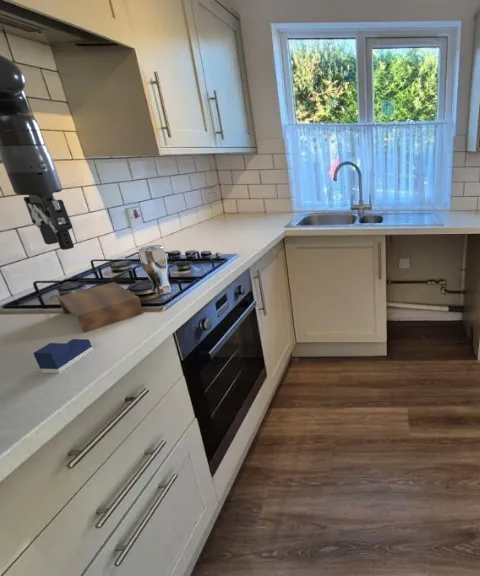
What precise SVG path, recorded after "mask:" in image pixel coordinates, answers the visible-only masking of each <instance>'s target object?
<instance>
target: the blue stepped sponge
mask: <svg viewBox="0 0 480 576" xmlns="http://www.w3.org/2000/svg"><path fill="white" fill-rule="evenodd" d="M92 351H94V348H93V346H92V344H91V340H90V338H72V339H70V340H69V341H68V342H49V343H47V344H45V346H42V347H41V348H39V349H37V350H36V351H34V352H33V353H32V354H33V355H34V358H35V360H36V362H37V365H38V367H39V369H40V371H41V373H42V374H61V373H62V372H63V371H64V370H66V369H68V368H69V367H71V366H72V365H73V364H75V363H76V362H78V361H79V360H81V359H83V358H84V357H85V356H87V355H88V354H90V353H91V352H92Z"/></svg>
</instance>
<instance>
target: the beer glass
mask: <svg viewBox="0 0 480 576" xmlns="http://www.w3.org/2000/svg"><path fill="white" fill-rule="evenodd" d="M137 251H138V255H139V260H140V263H141V266H142V269H143V272H144V273H145V274H146V277H147V279H148V281H149V283H150V288H151V292H152V291H153V292H154V293H155V294H158V295H159V294H166V295H168V294H167V293H169V294H171V293H173V292H174V287H173V285H172V283H171V279H170V274H169V272H170V271H169V263H168V258H167V255H166V251H165V249H164V247H163V245H162V244H151V245H145V246H141V247H139V248H138V249H137ZM172 291H173V292H172ZM170 292H171V293H170Z"/></svg>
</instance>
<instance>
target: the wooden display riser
mask: <svg viewBox="0 0 480 576" xmlns="http://www.w3.org/2000/svg"><path fill="white" fill-rule="evenodd" d="M57 299H58V302H59V304H60V307H61V310H62V312H63V313H64V314H65V315H67V314H72V315H73V316H74V317H75V318H76V319H77V321H78V323H79V327H80V329H81V331H82V333H84V334H85V333H88V332H92V331H94V330H97V329H100V328H103V327H105V326H110V325H113V324H115V323H118V322H121V321H122V322H123V321H125V320H127V319H130V318H134V317H137V316H140V315H142V314H144V312H145V311H144V309H143V307H142V303H141V300H140V297H139V296H137V295H136V294H134V293H132V292H131V291H129V290H127V288H124V287H123V286H121V285H119V284H118V283H116V282H115V281H113V282H109V283H105V284H101V285H97V286H94V287H90V288H86V289H82V290H78V291H74V292H70V293H67V294H62V295H59V296H57Z"/></svg>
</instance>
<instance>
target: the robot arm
mask: <svg viewBox="0 0 480 576" xmlns="http://www.w3.org/2000/svg"><path fill="white" fill-rule="evenodd" d="M25 87H26V77H25V75H24V73H23V71H22V69H20V67H19V66H18V65H17V64H16V63H15V62H14V61H12V60H11V59H9V58H8V57H6V56H4V55H2V54H0V160H1V162H2V164H3V167H4V169H5V173H6V175H7V178H8V181H9V182H10V185H11V187H12V190H13V192H14V194H16V195H18V196H23V201H24V203H25V205H26V206H25V207H26V208H27V211H28V214H29V217H30V219H31V223H32V224H33V225H35V226H36V227H37V228H38V230H39V231H40V234H41V237H42V240H43V243H44V244H46V245H54V244H58V246H59V248H60V249H61V250H64V251H66V250H70V249H71V250H72V249H74V247H75V245H74V243H73V240H72V236H71V234H70V230H71V229H73V224H72V222H71V220H70V217H69V215H68V211H67V209H66V206H65V203H64V201H63V199H56V197H55V196H54V193H61V192H62V191H63V186H62V183H61V180H60V178H59V175H58V171H57V168H56V165H55V162H54V160H53V157H52V155H51V153H50V151H49V149H48V147H47V145H46V142H45V139H44V137H43V133H42V131H41V128H40V125H39V123H38V121H37V119H36V118H35V117H34V115H33V114H32V111H31V109H30V105H29V102H28V100H27V97H26V94H25V90H24V89H25Z"/></svg>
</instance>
